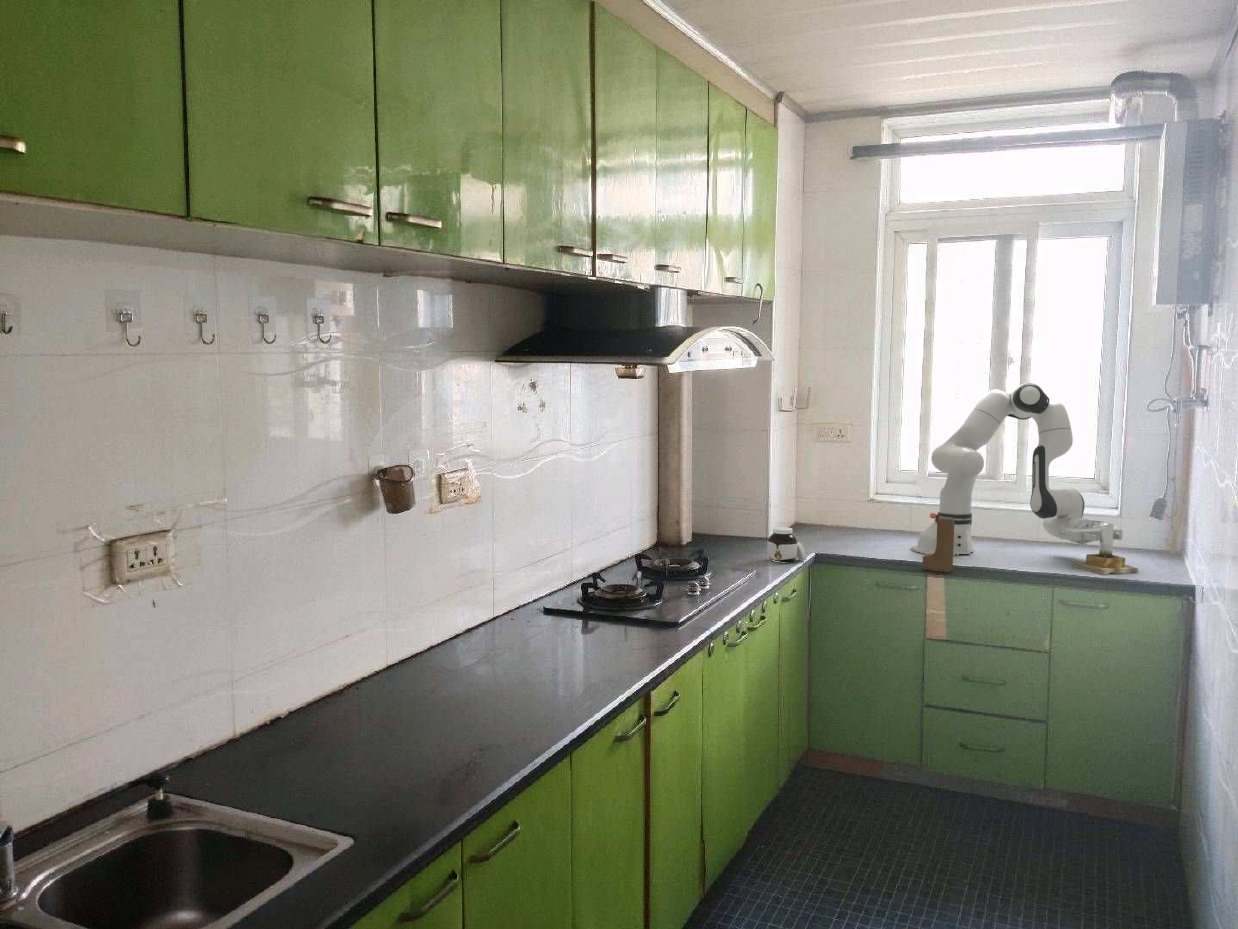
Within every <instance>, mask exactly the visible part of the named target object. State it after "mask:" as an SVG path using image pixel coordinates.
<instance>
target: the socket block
mask: <svg viewBox="0 0 1238 929" xmlns="http://www.w3.org/2000/svg"><path fill="white" fill-rule="evenodd" d="M1085 558H1086V559H1085V560H1084V561H1083V560H1082V561H1073V563H1072V566H1073V567H1074V566H1076V567H1075V568H1078V567H1079V568H1078V569H1081V570H1084V569H1085V570H1084V571H1088V570H1090V571H1089V572H1091V571H1093V572H1092V573H1094V572H1096V574H1098V573H1100V574H1099V575H1101V574H1105V575H1109V574H1108V573H1123V574H1127V573H1126V572H1138V573H1139V567H1134V566H1133V565H1128V564H1126V557H1123V556H1119V555H1115V554H1112V558H1101V557H1099V553H1091V554H1090V553H1088V554H1086V557H1085Z"/></svg>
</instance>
